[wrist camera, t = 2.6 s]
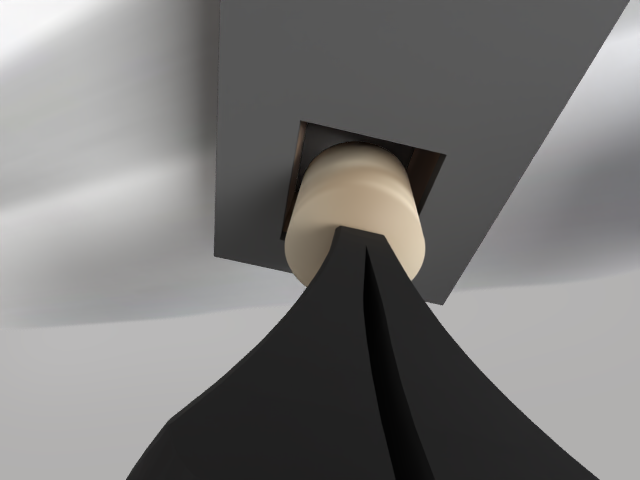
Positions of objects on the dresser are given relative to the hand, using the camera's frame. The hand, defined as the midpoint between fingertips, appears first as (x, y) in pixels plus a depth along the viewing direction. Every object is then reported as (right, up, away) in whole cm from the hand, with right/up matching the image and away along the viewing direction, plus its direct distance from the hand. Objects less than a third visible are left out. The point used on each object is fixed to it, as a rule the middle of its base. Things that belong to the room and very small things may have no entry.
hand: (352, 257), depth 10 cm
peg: (0, +2, +3) cm, 4 cm away
